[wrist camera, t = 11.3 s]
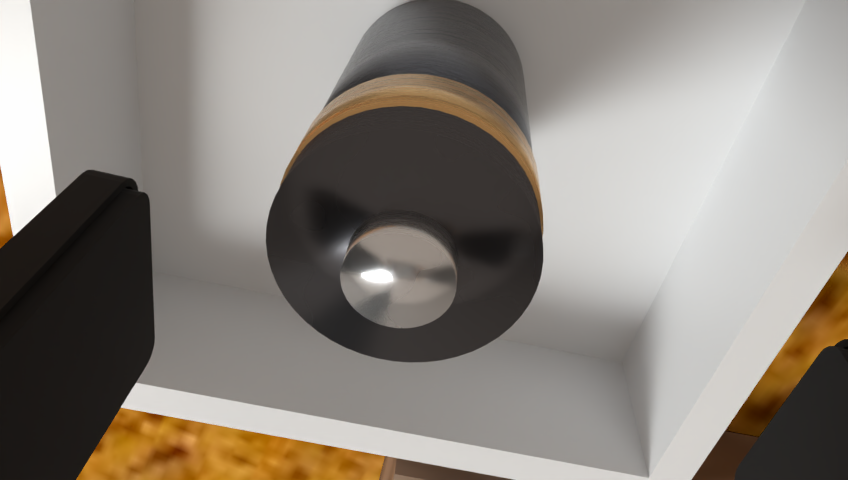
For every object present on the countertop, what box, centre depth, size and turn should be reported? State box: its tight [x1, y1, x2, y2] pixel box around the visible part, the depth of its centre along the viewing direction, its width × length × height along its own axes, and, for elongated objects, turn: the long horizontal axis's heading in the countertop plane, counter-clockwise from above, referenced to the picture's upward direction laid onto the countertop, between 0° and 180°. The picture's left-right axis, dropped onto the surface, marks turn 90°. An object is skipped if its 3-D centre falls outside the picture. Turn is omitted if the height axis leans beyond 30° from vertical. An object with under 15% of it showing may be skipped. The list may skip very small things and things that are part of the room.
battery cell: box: [266, 0, 543, 363], centre depth 13 cm, size 4×4×8 cm
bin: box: [0, 0, 848, 480], centre depth 15 cm, size 16×16×5 cm
